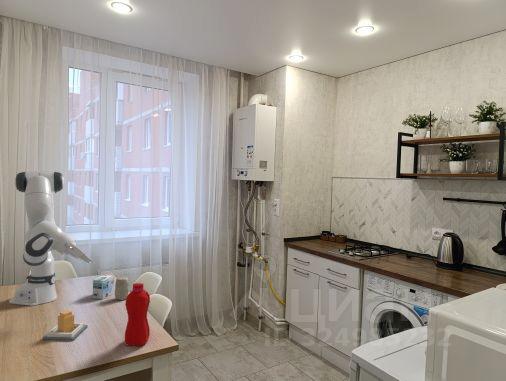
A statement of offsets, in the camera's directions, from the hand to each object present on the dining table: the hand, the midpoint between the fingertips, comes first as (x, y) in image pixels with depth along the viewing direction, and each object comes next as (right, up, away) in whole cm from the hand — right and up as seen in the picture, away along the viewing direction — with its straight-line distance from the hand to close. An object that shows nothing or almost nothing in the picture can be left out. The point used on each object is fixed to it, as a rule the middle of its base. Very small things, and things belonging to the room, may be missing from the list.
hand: (90, 262), depth 167 cm
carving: (+5, -27, +27) cm, 38 cm away
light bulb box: (-7, -26, +31) cm, 41 cm away
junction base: (-3, -28, -16) cm, 32 cm away
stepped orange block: (-3, -27, -16) cm, 32 cm away
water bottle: (+30, -29, -20) cm, 47 cm away
